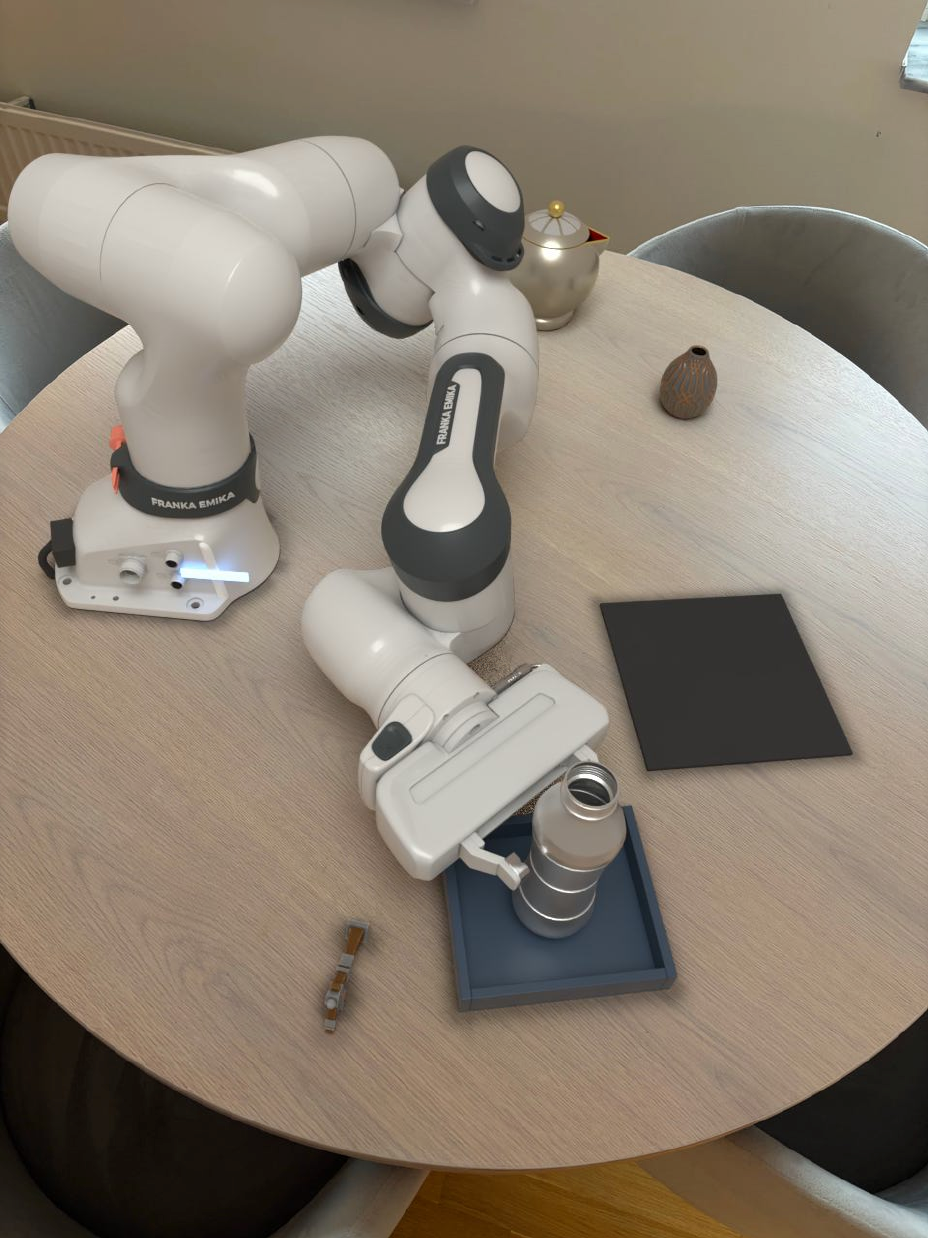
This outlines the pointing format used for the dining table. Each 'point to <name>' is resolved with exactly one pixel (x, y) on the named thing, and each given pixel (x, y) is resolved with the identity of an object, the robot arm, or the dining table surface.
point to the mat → (720, 682)
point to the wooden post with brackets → (344, 971)
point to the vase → (689, 383)
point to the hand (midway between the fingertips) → (568, 842)
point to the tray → (546, 967)
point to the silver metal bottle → (570, 850)
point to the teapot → (557, 264)
